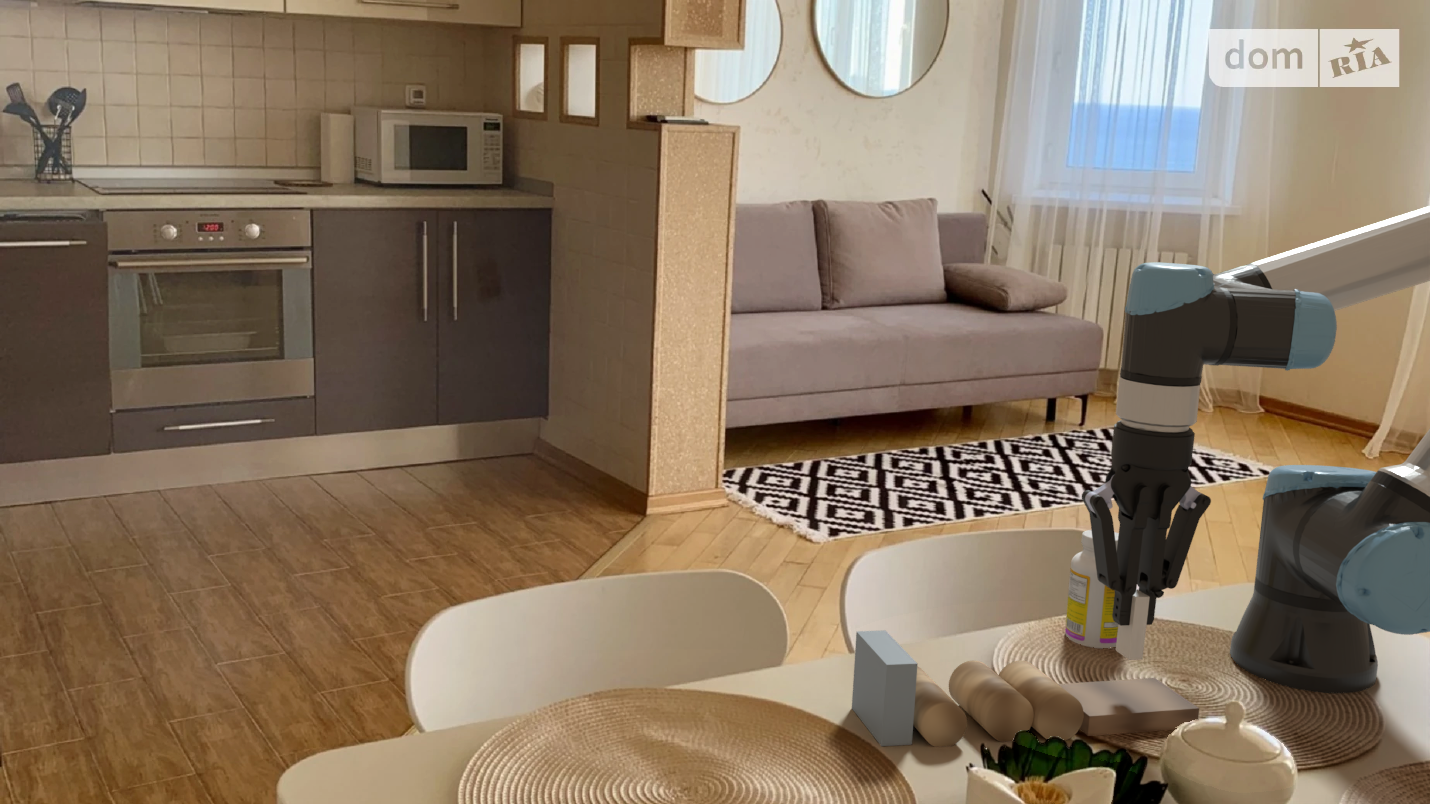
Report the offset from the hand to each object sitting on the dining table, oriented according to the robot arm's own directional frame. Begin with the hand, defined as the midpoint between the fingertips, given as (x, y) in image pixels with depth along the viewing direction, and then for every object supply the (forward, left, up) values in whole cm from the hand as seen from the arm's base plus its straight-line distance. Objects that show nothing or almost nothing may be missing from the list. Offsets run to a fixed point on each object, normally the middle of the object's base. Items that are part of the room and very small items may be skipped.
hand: (1128, 654), depth 140 cm
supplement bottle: (-7, -19, -6) cm, 22 cm away
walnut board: (0, +1, -7) cm, 7 cm away
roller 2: (+17, +1, -4) cm, 18 cm away
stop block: (+26, 0, -6) cm, 26 cm away
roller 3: (+9, +1, -2) cm, 9 cm away
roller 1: (+19, 0, -3) cm, 20 cm away
